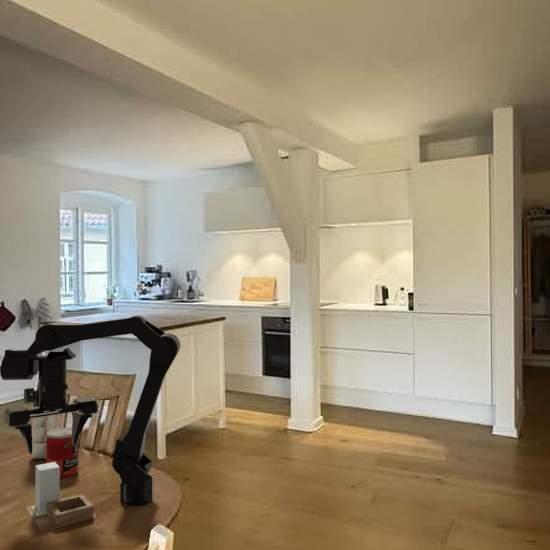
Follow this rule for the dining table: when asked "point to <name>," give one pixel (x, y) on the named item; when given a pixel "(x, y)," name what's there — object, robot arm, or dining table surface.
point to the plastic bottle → (41, 434)
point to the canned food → (62, 451)
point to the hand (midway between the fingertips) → (52, 449)
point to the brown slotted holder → (63, 512)
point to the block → (46, 485)
